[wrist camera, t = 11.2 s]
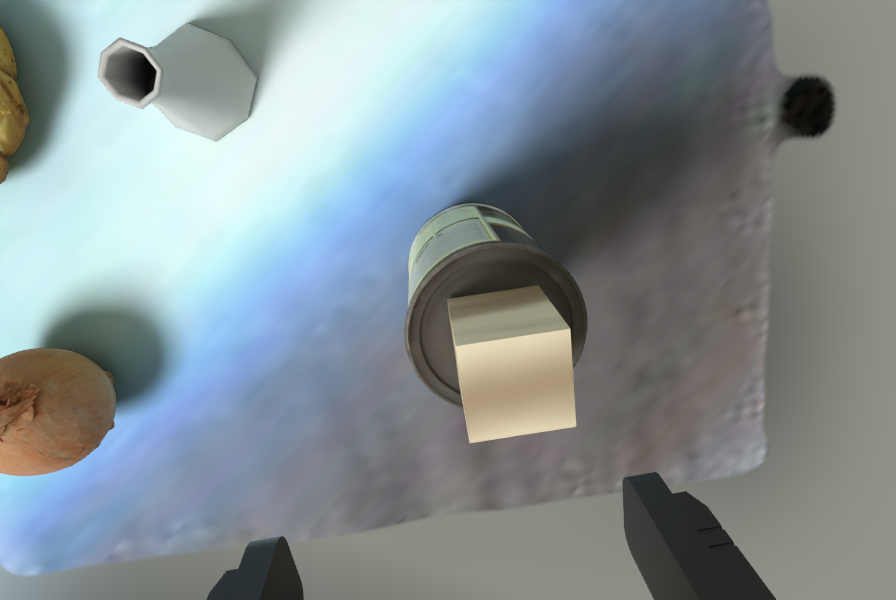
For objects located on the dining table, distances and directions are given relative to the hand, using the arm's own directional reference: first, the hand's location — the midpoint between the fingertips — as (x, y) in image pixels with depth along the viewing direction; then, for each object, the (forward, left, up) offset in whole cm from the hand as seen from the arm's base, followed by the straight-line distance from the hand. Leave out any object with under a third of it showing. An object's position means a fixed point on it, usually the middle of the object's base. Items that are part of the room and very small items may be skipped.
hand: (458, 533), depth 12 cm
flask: (-13, -14, -31) cm, 36 cm away
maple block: (+3, +3, -17) cm, 17 cm away
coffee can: (+3, +3, -31) cm, 31 cm away
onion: (+8, -31, -31) cm, 44 cm away
